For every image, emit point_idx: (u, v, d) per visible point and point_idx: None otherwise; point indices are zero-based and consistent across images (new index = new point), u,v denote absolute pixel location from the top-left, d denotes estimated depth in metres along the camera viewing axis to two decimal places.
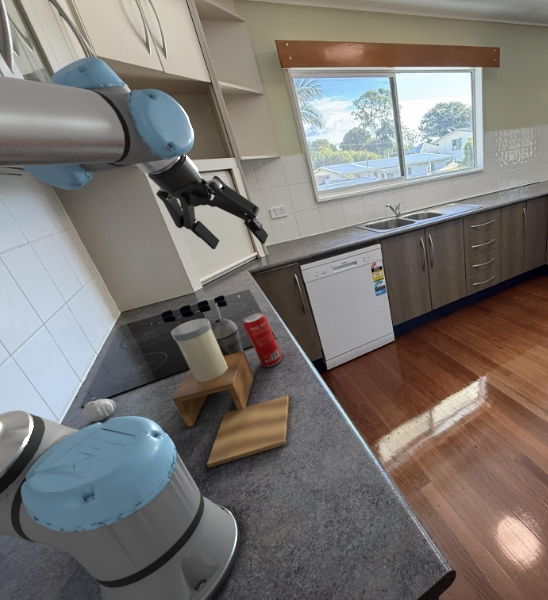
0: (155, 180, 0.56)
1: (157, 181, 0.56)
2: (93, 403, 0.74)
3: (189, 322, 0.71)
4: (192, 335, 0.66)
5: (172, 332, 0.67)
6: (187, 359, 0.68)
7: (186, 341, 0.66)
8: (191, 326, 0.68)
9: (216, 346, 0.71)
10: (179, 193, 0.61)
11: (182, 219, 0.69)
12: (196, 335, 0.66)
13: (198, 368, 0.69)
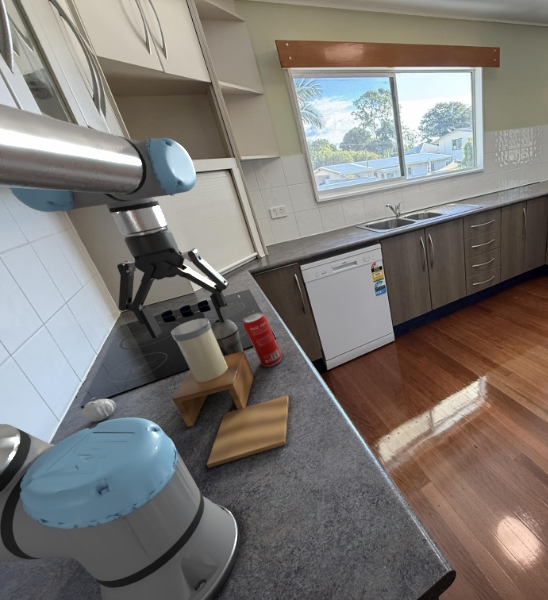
0: (134, 241, 0.57)
1: (136, 241, 0.57)
2: (93, 403, 0.74)
3: (189, 322, 0.71)
4: (192, 335, 0.66)
5: (172, 332, 0.67)
6: (187, 359, 0.68)
7: (186, 341, 0.66)
8: (191, 326, 0.68)
9: (216, 346, 0.71)
10: (147, 263, 0.61)
11: (128, 302, 0.64)
12: (196, 335, 0.66)
13: (198, 368, 0.69)
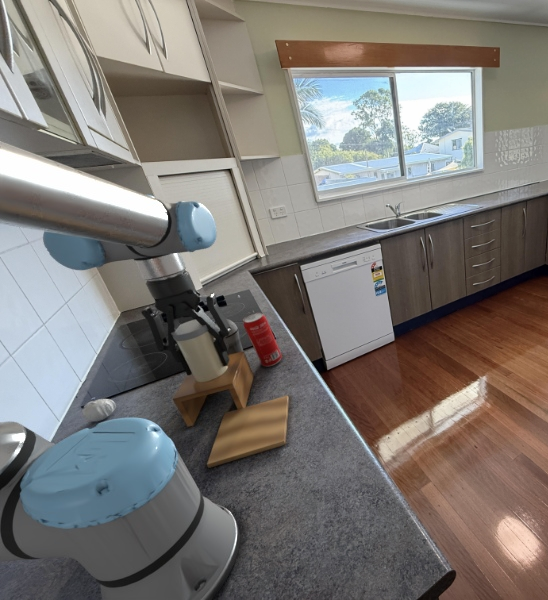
0: (156, 286, 0.61)
1: (157, 286, 0.61)
2: (93, 403, 0.74)
3: (189, 322, 0.71)
4: (192, 335, 0.66)
5: (172, 332, 0.67)
6: (187, 359, 0.68)
7: (186, 341, 0.66)
8: (191, 326, 0.68)
9: None
10: (167, 304, 0.65)
11: (166, 343, 0.69)
12: (196, 335, 0.66)
13: (198, 368, 0.69)
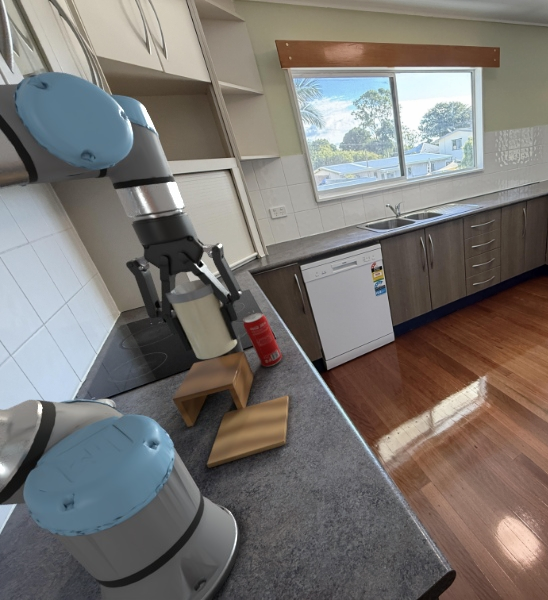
0: (145, 225, 0.45)
1: (147, 226, 0.45)
2: None
3: (189, 283, 0.55)
4: (193, 296, 0.51)
5: (167, 293, 0.51)
6: (186, 328, 0.53)
7: (184, 304, 0.51)
8: (191, 286, 0.53)
9: None
10: (160, 254, 0.49)
11: (159, 308, 0.53)
12: (198, 296, 0.51)
13: (201, 340, 0.53)
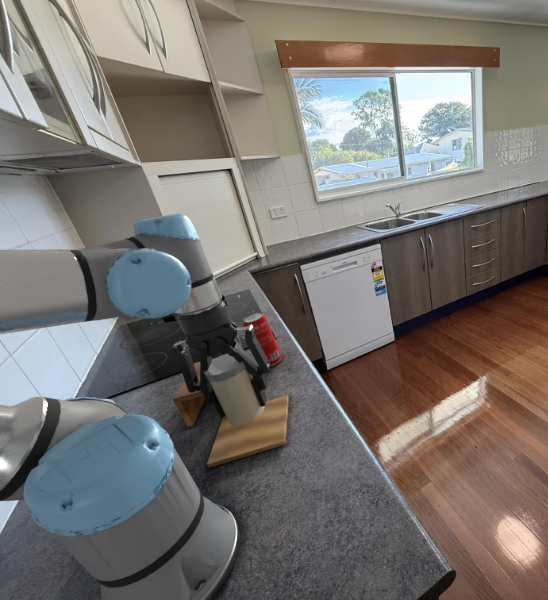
0: (189, 321, 0.51)
1: (191, 321, 0.51)
2: None
3: (222, 357, 0.61)
4: (228, 375, 0.57)
5: (205, 371, 0.57)
6: (221, 401, 0.59)
7: (221, 382, 0.57)
8: (226, 363, 0.59)
9: None
10: (200, 340, 0.55)
11: (197, 382, 0.59)
12: (233, 374, 0.57)
13: (234, 411, 0.60)
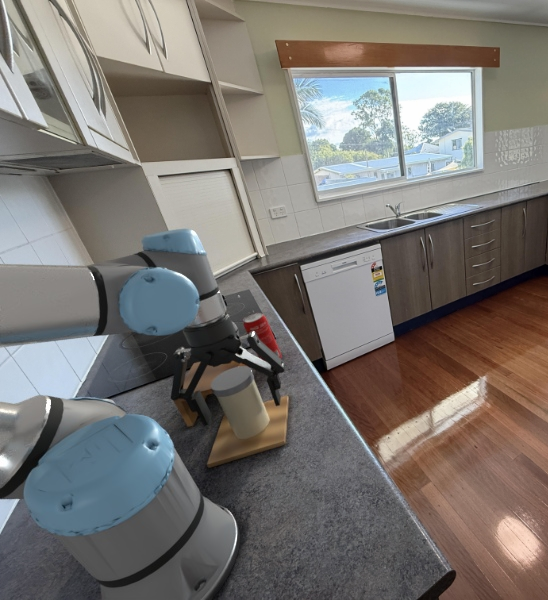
0: (195, 333, 0.52)
1: (197, 334, 0.52)
2: None
3: (229, 371, 0.63)
4: (235, 390, 0.58)
5: (212, 386, 0.59)
6: (228, 415, 0.60)
7: (228, 397, 0.58)
8: (233, 378, 0.60)
9: (259, 398, 0.63)
10: (204, 351, 0.56)
11: (180, 390, 0.59)
12: (239, 389, 0.58)
13: (240, 424, 0.61)
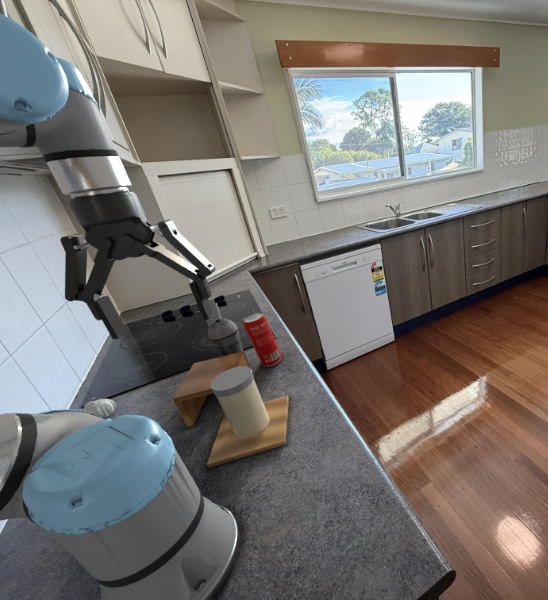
0: (80, 203, 0.41)
1: (82, 204, 0.41)
2: (93, 403, 0.74)
3: (229, 371, 0.63)
4: (235, 390, 0.58)
5: (212, 386, 0.59)
6: (228, 415, 0.60)
7: (228, 397, 0.58)
8: (233, 378, 0.60)
9: (259, 398, 0.63)
10: (103, 237, 0.45)
11: (80, 291, 0.48)
12: (239, 389, 0.58)
13: (240, 424, 0.61)
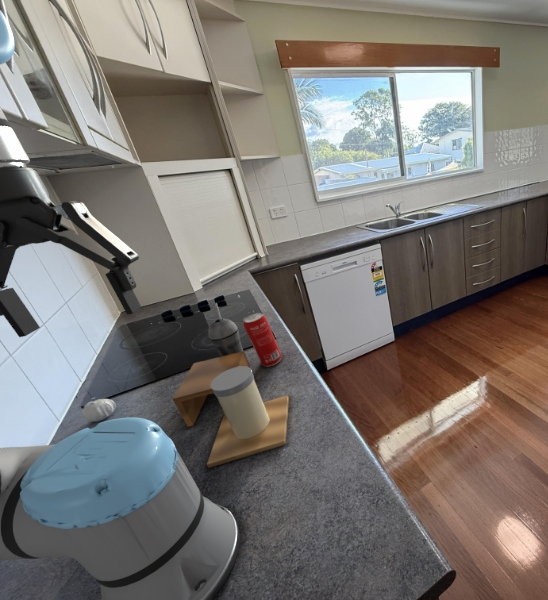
0: None
1: None
2: (93, 403, 0.74)
3: (229, 371, 0.63)
4: (235, 390, 0.58)
5: (212, 386, 0.59)
6: (228, 415, 0.60)
7: (228, 397, 0.58)
8: (233, 378, 0.60)
9: (259, 398, 0.63)
10: None
11: None
12: (239, 389, 0.58)
13: (240, 424, 0.61)
